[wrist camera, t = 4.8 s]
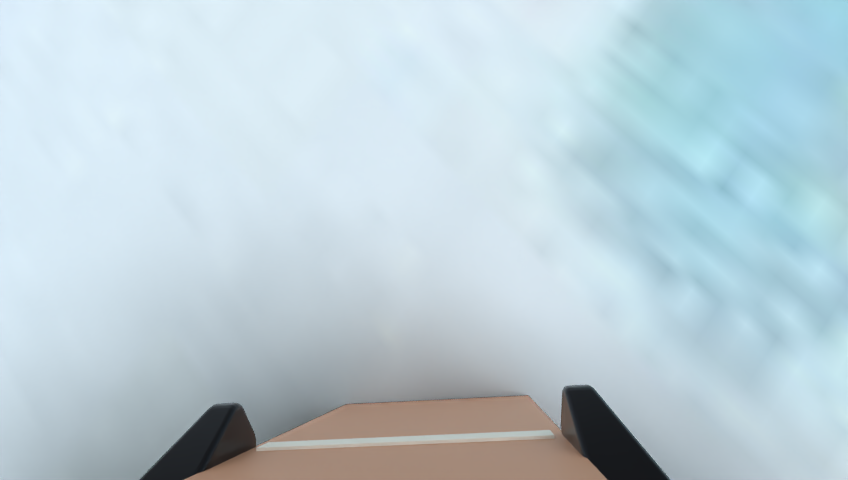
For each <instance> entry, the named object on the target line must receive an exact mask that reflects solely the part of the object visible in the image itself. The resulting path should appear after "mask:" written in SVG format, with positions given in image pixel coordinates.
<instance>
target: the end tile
mask: <svg viewBox="0 0 848 480" xmlns="http://www.w3.org/2000/svg"><path fill="white" fill-rule="evenodd" d="M184 480H607V479H606V478H605V477H604V475H603V474H602V473H601V472H600V471H599V470H598V469H597V468H596V467H595V466H594V465H593V464H592V463H591V462H590V461H589V460H588V458H585V457H583V456H582V455H581V454H580V453H579V452H578V451H577V450H576V449H575V448H574V447H573V445H572V444H571V443H570V442H569V441H568V440H567V439H566V438H565V437H564V436H563V435H562V431H561V430H560V429H559V428H558V427H557V426H556V424H555V423H554V422H553V421H552V420H551V419H550V418H549V417H548V416H547V415H546V414H545V413H544V412H543V411H542V410H541V409H540V407H539V406H538V405H537V404H536V403H535V402H534V401H533V400H532V399H531V398H530V397H529V396H528V395H525V396H504V397H484V398H464V399H443V400H423V401H402V402H382V403H362V404H345V405H343V406H341V407H339V408H337V409H335V410H333V411H330V412H328V413H326V414H324V415H322V416H320V417H318V418H315V419H313V420H311V421H309V422H307V423H305V424H303V425H300V426H298V427H296V428H294V429H292V430H290V431H287V432H285V433H283V434H281V435H279V436H277V437H275V438H272V439H270V440H268V441H266V442H264V443H262V444H260V445H257V446H256V447H255V448H253V449H250V450H248V451H246V452H244V453H242V454H240V455H238V456H236V457H233V458H231V459H229V460H227V461H225V462H223V463H221V464H219V465H216V466H214V467H212V468H210V469H208V470H206V471H203V472H200V473H197V474H195V475H193V476H191V477H189V478H187V479H184Z"/></svg>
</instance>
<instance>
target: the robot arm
mask: <svg viewBox="0 0 848 480" xmlns="http://www.w3.org/2000/svg"><path fill="white" fill-rule="evenodd" d="M561 430H562V435H563V436H564V437H565V438H566V439H567V440H568V441H569V442H570V443H571V444H572V445H573V447H574V448H575V449H576V450H577V451H578V452H579V453H580V454H581V455H582V456H583V457H585V458H588V460H589V461H590V462H591V463H592V464H593V465H594V466H595V467H596V468H597V469H598V470H599V471H600V472H601V473H602V474H603V475H604V477H605V478H606V479H607V480H670V479H669V478H668V477H667V475H666V474H665V473H664V472H663V471H662V469H661V468H660V467H659V466H658V465H657V463H656V462H655V461H654V460H653V459H652V457H651V456H650V455H649V454H648V453H647V451H646V450H645V449H644V448H643V447H642V445H641V444H640V443H639V442H638V441H637V439H636V438H635V437H634V436H633V435H632V434H631V432H630V431H629V430H628V429H627V428H626V426H625V425H624V424H623V423H622V422H621V420H620V419H619V418H618V417H617V416H616V414H615V413H614V412H613V411H612V410H611V408H610V407H609V406H608V405H607V404H606V402H605V401H604V400H603V399H602V398H601V396H600V395H599V394H598V393H597V392H596V391H595V389H594V388H593V387H591V386H589V385H573V386H566V387H564V389H563V391H562V409H561ZM255 447H256V438H255V434H254V431H253V429H252V427H251V424H250V422H249V420H248V418H247V416H246V413H245V411H244V409H243V407H242V406H241V405H240V404H238V403H223V404H216V405H213V406H212V407H210V408H209V409H208V410H207V411H206V412H205V413H204V414H203V415H202V416H201V417H200V418H199V419H198V420H197V421H196V422H195V423H194V424H193V426H192V427H191V428H190V429H189V430H188V431H187V432H186V433H185V434H184V435H183V436H182V437H181V438H180V439H179V440H178V441H177V442H176V443H175V444H174V445H173V446H172V447H171V448H170V449H169V450H168V451H167V452H166V453H165V454H164V455H163V456H162V457H161V458H160V459H159V460H158V461H157V462H156V463H155V464H154V465H153V466H152V467H151V468H150V469H149V470H148V472H147V473H146V474H145V475H144V476H143V477H142V478H141V479H140V480H184V479H187V478H189V477H191V476H193V475H195V474H197V473H200V472H203V471H206V470H208V469H210V468H212V467H214V466H216V465H219V464H221V463H223V462H225V461H227V460H229V459H231V458H233V457H236V456H238V455H240V454H242V453H244V452H246V451H248V450H250V449H253V448H255Z"/></svg>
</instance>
